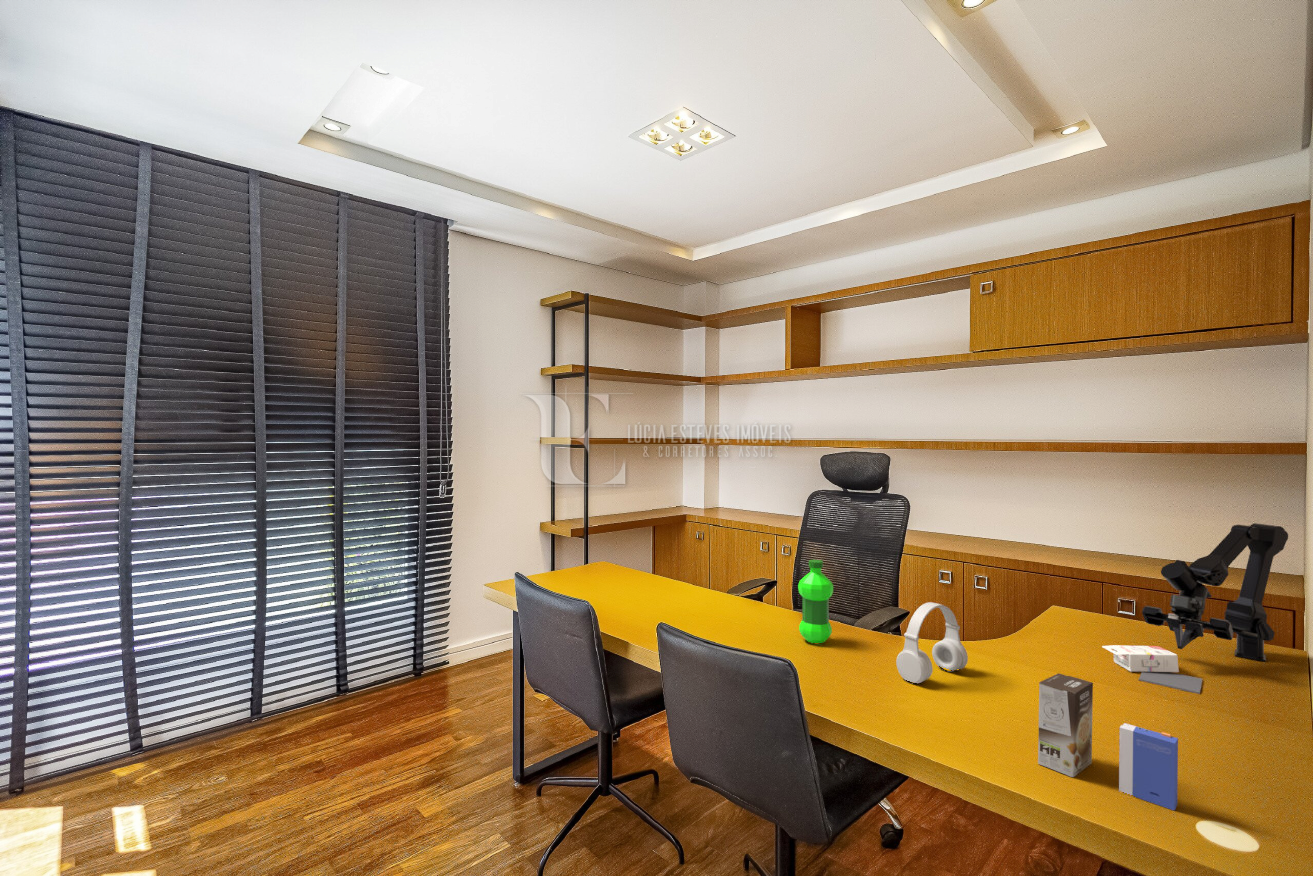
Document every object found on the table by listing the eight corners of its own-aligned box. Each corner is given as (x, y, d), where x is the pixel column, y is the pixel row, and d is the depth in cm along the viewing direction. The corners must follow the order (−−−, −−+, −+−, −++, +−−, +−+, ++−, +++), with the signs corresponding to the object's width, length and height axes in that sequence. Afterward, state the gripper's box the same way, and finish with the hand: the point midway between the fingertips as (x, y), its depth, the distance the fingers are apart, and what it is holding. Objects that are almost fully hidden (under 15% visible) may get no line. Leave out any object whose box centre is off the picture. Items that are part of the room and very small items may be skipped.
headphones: (922, 689, 155) (923, 613, 155) (894, 678, 162) (895, 605, 162) (969, 673, 165) (969, 602, 165) (940, 663, 172) (941, 595, 172)
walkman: (1177, 804, 107) (1178, 736, 106) (1174, 811, 105) (1175, 741, 105) (1121, 785, 112) (1122, 720, 112) (1118, 791, 111) (1118, 725, 110)
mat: (1144, 668, 170) (1144, 666, 170) (1202, 680, 161) (1202, 678, 161) (1138, 680, 161) (1138, 678, 161) (1199, 694, 153) (1199, 692, 153)
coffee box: (1074, 779, 114) (1075, 693, 114) (1037, 764, 119) (1037, 682, 119) (1092, 763, 120) (1093, 682, 120) (1056, 750, 125) (1057, 671, 125)
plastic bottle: (821, 649, 183) (821, 566, 182) (791, 640, 190) (792, 560, 190) (839, 642, 189) (839, 561, 189) (809, 633, 197) (810, 556, 197)
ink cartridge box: (1160, 663, 172) (1101, 662, 175) (1158, 645, 172) (1100, 644, 175) (1179, 673, 164) (1117, 671, 166) (1178, 654, 164) (1116, 653, 167)
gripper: (1143, 577, 177) (1130, 622, 171) (1230, 590, 162) (1219, 641, 156) (1152, 600, 182) (1140, 645, 175) (1237, 615, 167) (1227, 664, 160)
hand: (1179, 648), depth 167 cm, fingers closed
